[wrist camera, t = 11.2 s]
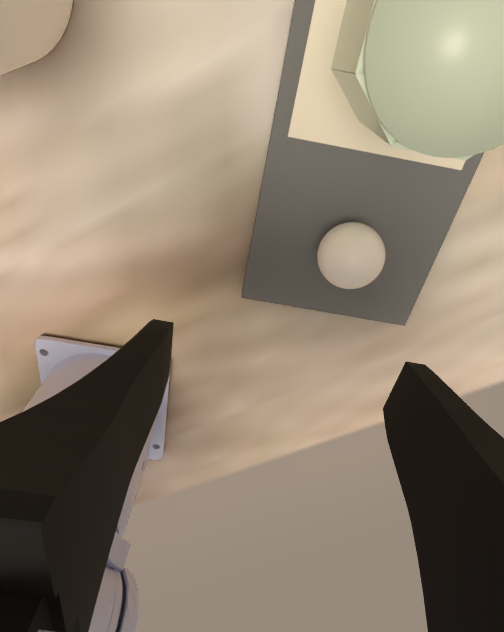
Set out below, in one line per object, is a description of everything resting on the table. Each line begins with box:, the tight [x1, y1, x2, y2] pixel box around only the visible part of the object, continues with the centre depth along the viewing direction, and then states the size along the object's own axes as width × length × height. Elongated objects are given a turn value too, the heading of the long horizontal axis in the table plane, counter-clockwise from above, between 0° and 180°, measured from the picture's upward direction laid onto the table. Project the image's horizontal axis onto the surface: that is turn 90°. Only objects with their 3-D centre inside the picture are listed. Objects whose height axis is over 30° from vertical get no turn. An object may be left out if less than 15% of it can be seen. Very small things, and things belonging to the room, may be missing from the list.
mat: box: [242, 0, 484, 326], centre depth 18 cm, size 16×9×1 cm, turn 170°
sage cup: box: [331, 0, 504, 160], centre depth 13 cm, size 5×5×6 cm
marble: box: [317, 222, 385, 289], centre depth 18 cm, size 3×3×3 cm
